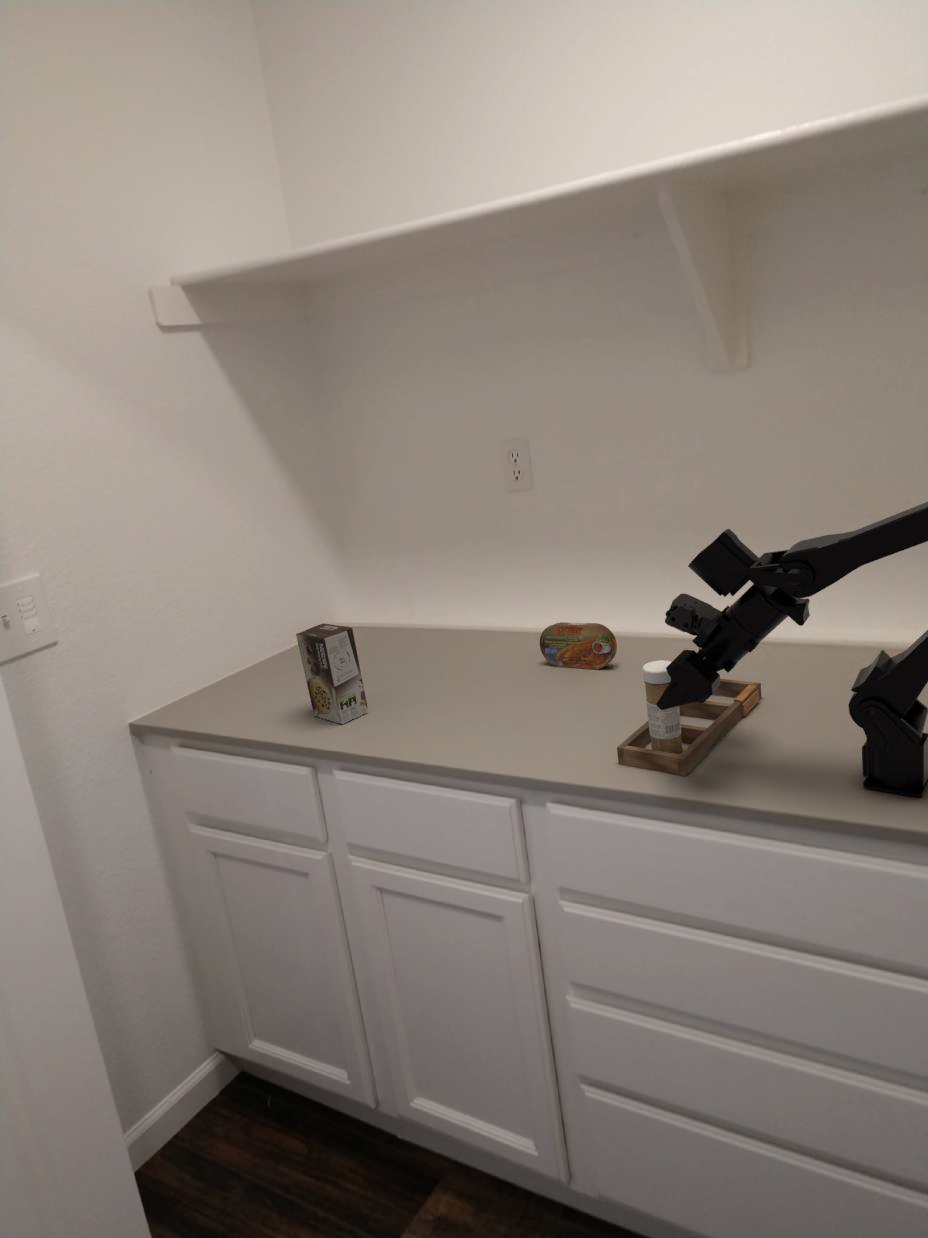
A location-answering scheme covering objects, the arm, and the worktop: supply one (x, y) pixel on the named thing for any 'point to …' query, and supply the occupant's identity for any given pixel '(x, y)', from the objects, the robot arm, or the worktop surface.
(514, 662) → the worktop surface
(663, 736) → the sprinkles bottle
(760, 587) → the robot arm
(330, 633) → the coffee box
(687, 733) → the rack
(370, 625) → the worktop surface
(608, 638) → the tin
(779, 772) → the worktop surface
